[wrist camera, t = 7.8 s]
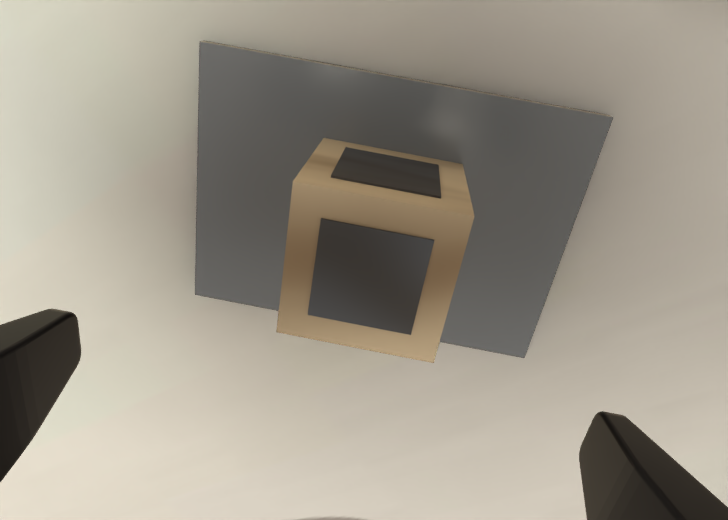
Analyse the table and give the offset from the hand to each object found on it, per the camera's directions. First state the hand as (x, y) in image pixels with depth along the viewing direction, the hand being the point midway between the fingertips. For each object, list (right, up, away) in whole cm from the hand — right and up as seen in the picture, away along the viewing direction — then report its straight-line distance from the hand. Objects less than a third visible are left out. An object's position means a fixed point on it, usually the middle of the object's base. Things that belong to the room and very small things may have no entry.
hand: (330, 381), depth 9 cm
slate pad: (+1, +4, +11) cm, 12 cm away
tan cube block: (+1, +4, +11) cm, 12 cm away
